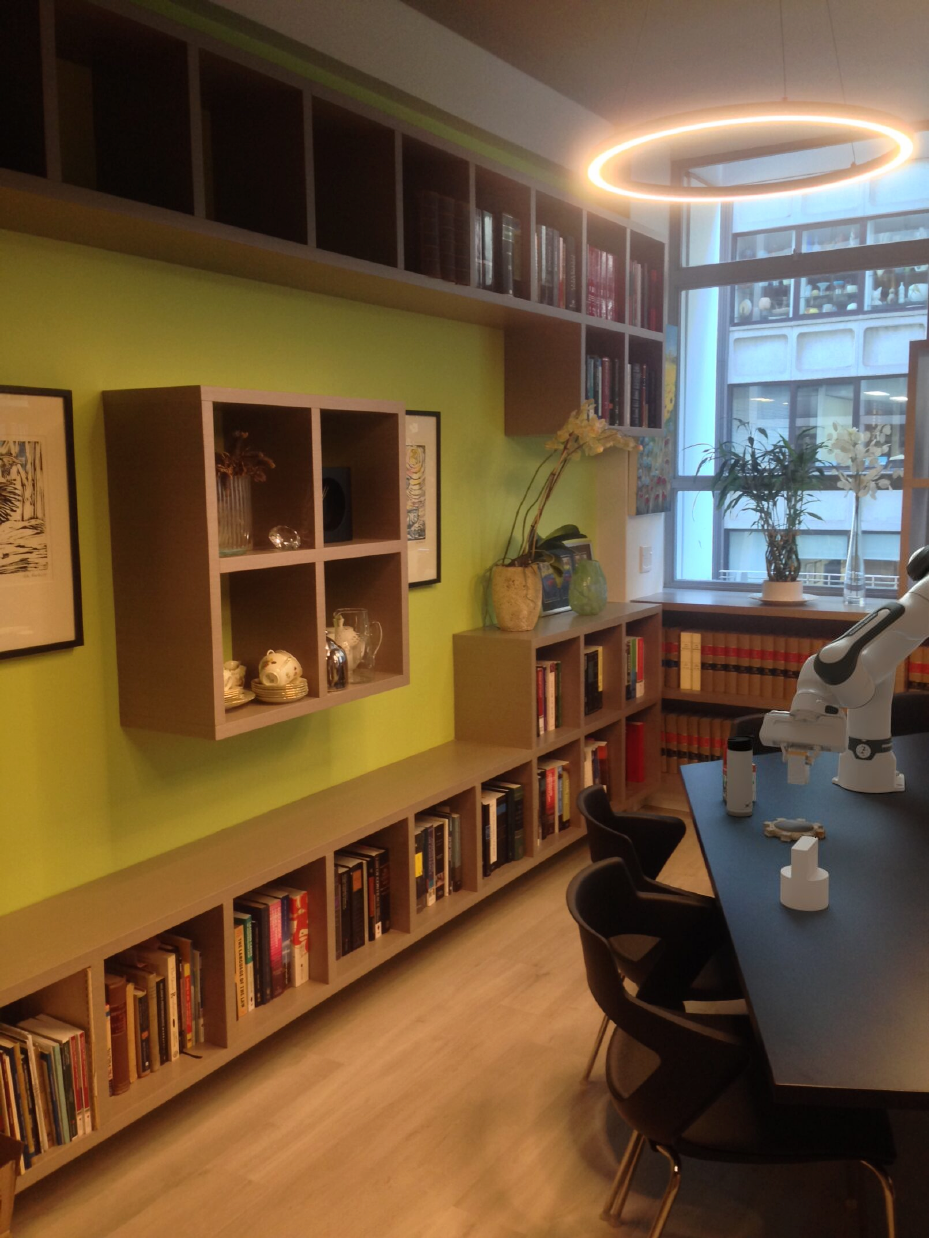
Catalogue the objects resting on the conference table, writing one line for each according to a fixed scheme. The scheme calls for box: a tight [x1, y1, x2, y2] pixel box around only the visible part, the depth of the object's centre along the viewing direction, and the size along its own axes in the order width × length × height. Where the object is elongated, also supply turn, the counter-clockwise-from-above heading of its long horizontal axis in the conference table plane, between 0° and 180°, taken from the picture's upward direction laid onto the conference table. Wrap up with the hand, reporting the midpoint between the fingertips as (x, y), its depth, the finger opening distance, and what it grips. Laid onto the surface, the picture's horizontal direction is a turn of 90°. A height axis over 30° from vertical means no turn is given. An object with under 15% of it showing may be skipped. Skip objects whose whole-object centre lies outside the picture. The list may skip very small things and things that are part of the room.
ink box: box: [722, 745, 757, 803], centre depth 278 cm, size 4×8×15 cm, turn 98°
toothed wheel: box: [762, 817, 826, 843], centre depth 251 cm, size 14×14×2 cm
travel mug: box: [726, 734, 755, 818], centre depth 266 cm, size 6×7×20 cm
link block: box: [787, 746, 811, 786], centre depth 248 cm, size 4×4×8 cm
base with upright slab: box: [779, 836, 830, 912], centre depth 208 cm, size 9×9×12 cm
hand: (797, 762), depth 247 cm, fingers closed on link block, 4 cm apart
